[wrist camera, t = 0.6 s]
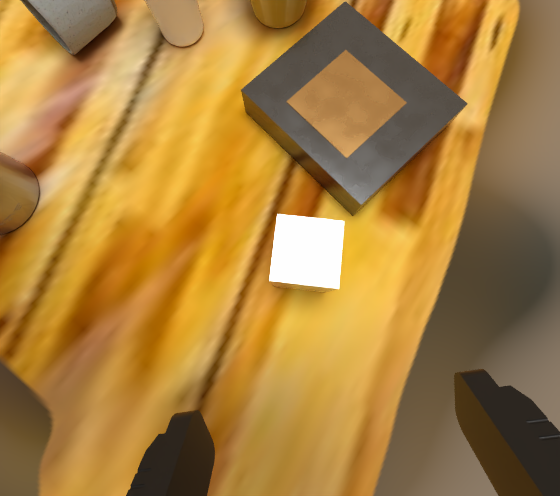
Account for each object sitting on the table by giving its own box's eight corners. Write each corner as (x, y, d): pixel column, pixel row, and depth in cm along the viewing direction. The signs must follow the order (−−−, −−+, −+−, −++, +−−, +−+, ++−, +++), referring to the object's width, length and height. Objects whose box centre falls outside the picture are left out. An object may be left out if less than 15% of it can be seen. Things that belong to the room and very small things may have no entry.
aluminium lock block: (324, 292, 34) (338, 288, 24) (274, 286, 34) (269, 280, 25) (329, 240, 35) (344, 217, 25) (280, 235, 35) (277, 210, 26)
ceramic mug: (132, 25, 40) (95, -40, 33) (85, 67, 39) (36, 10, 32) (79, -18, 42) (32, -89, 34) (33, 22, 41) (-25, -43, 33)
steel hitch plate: (245, 112, 38) (240, 89, 34) (339, 31, 39) (345, 0, 35) (353, 215, 35) (361, 204, 31) (448, 125, 37) (468, 103, 33)
